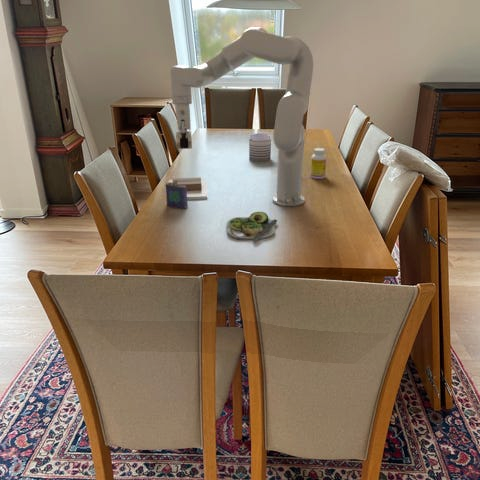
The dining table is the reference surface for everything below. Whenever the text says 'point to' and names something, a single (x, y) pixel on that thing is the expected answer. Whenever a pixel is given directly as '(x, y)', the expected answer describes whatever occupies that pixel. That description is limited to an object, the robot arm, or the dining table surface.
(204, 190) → the plate
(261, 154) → the can
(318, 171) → the supplement bottle
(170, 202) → the flask
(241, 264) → the dining table surface
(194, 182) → the plinth
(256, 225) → the salad plate
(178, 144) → the birch block
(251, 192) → the dining table surface
